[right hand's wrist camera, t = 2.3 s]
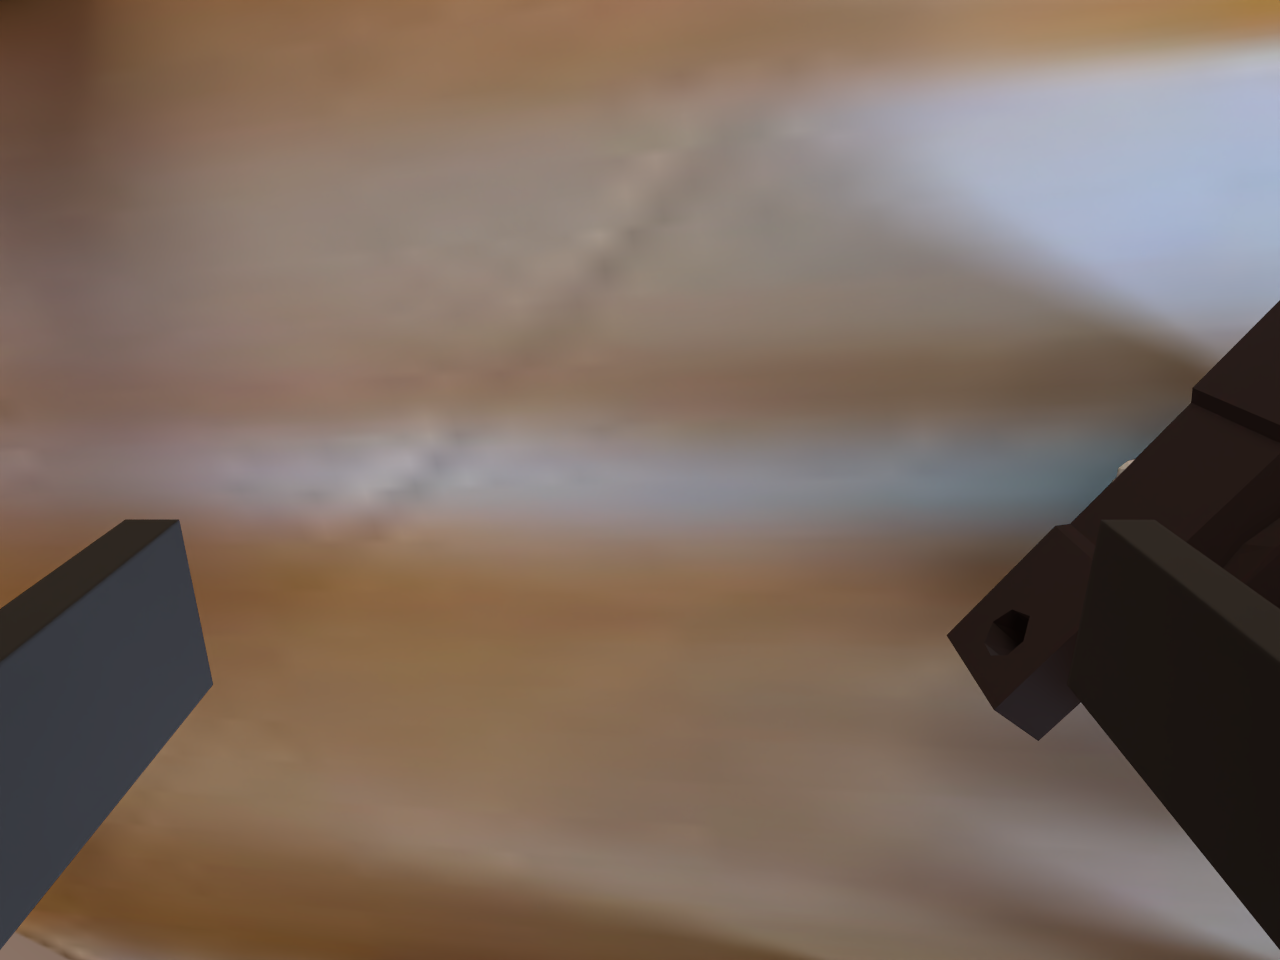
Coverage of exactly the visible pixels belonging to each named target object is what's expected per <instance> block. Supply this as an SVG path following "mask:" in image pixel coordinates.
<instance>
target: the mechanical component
mask: <svg viewBox="0 0 1280 960" xmlns="http://www.w3.org/2000/svg"><path fill="white" fill-rule="evenodd" d="M1101 520H1156V521H1157V522H1159V523H1160V524H1161V525H1163V526H1164V527H1166V528H1167V529H1168V530H1170V531H1171V532H1173V533H1174V534H1175V535H1177V536H1178V537H1180V538H1181V539H1182V540H1184V541H1185V542H1187V543H1188V544H1189V545H1191V546H1192V547H1194V548H1195V549H1196V550H1198V551H1199V552H1201V553H1202V554H1203V555H1205V556H1206V557H1208V558H1209V559H1210V560H1212V561H1213V562H1215V563H1216V564H1217V565H1219V566H1220V567H1222V568H1223V569H1224V570H1226V571H1227V572H1229V573H1230V574H1231V575H1233V576H1234V577H1236V578H1237V579H1238V580H1240V581H1241V582H1243V583H1244V584H1245V585H1247V586H1248V587H1250V588H1251V589H1252V590H1254V591H1255V592H1257V593H1258V594H1259V595H1261V596H1262V597H1264V598H1265V599H1266V600H1268V601H1269V602H1271V603H1272V604H1273V605H1275V606H1276V607H1278V608H1279V609H1280V301H1279V302H1278V303H1277V304H1276V305H1275V306H1274V307H1273V308H1272V309H1271V310H1270V311H1269V312H1268V313H1267V314H1266V315H1265V316H1264V317H1263V318H1262V319H1261V320H1260V321H1259V322H1258V323H1257V324H1256V325H1255V326H1254V327H1253V328H1252V329H1251V330H1250V331H1249V332H1248V333H1247V334H1246V335H1245V336H1244V337H1243V338H1242V339H1241V340H1240V341H1239V342H1238V343H1237V344H1236V345H1235V346H1234V347H1233V348H1232V349H1231V350H1230V351H1229V352H1228V353H1227V354H1226V355H1225V356H1224V357H1223V358H1222V359H1221V360H1220V361H1219V362H1218V363H1217V364H1216V365H1215V366H1214V367H1213V368H1212V369H1211V370H1210V371H1209V372H1208V373H1207V374H1206V375H1205V376H1204V377H1203V378H1202V379H1201V380H1200V381H1199V382H1198V383H1197V384H1196V385H1195V386H1194V387H1193V391H1192V402H1191V404H1190V405H1189V406H1188V407H1187V408H1186V409H1185V410H1184V411H1183V412H1182V413H1181V414H1180V415H1179V416H1178V417H1177V418H1176V419H1175V420H1174V421H1173V422H1172V423H1171V424H1170V425H1169V426H1168V427H1167V428H1166V429H1165V430H1164V431H1163V432H1162V433H1161V434H1160V435H1159V436H1158V437H1157V438H1156V439H1155V440H1154V441H1153V442H1152V443H1151V444H1150V445H1149V446H1148V447H1147V448H1146V449H1145V450H1144V451H1143V452H1142V453H1141V454H1140V455H1139V456H1138V457H1137V458H1136V459H1134V460H1129V461H1127V462H1126V463H1124V464H1123V465H1122V466H1121V467H1119V468H1118V472H1117V476H1116V478H1115V479H1114V480H1113V481H1112V483H1111V484H1110V485H1109V486H1108V487H1107V488H1106V489H1105V490H1104V491H1103V492H1102V493H1101V494H1100V495H1099V496H1098V497H1097V498H1096V499H1095V500H1094V501H1093V502H1092V503H1091V504H1090V505H1089V506H1088V507H1087V508H1086V509H1085V510H1084V511H1083V512H1082V513H1081V514H1080V515H1079V516H1078V517H1077V518H1076V519H1075V520H1074V521H1073V522H1072V523H1071V524H1067V525H1059V526H1055V527H1054V528H1053V529H1052V530H1051V531H1050V532H1049V533H1048V534H1047V535H1046V536H1045V537H1044V538H1043V539H1042V540H1041V541H1040V542H1039V543H1038V544H1037V545H1036V546H1035V547H1034V548H1033V549H1032V550H1031V551H1030V552H1029V553H1028V554H1027V555H1026V556H1025V557H1024V558H1023V559H1022V560H1021V561H1020V562H1019V563H1018V564H1017V565H1016V566H1015V567H1014V568H1013V569H1012V570H1011V571H1010V572H1009V573H1008V574H1007V575H1006V576H1005V577H1004V578H1003V579H1002V580H1001V581H1000V582H999V583H998V584H997V585H996V586H995V587H994V588H993V589H992V590H991V591H990V592H989V593H988V594H987V595H986V596H985V597H984V598H983V599H982V600H981V601H980V602H979V603H978V604H977V605H976V606H975V607H974V608H973V609H972V610H971V611H970V612H969V613H968V614H967V615H966V616H965V617H964V618H963V619H962V620H961V621H960V622H959V623H958V624H957V625H956V626H955V627H954V628H953V629H952V630H951V631H950V632H949V634H948V635H947V637H948V638H949V640H950V641H951V643H952V644H953V646H954V648H955V649H956V651H957V652H958V654H959V655H960V657H961V659H962V660H963V662H964V663H965V665H966V666H967V668H968V670H969V671H970V673H971V674H972V676H973V677H974V679H975V681H976V682H977V684H978V685H979V687H980V689H981V690H982V692H983V693H984V695H985V696H986V698H987V700H988V701H989V703H990V704H991V706H992V707H993V709H994V710H995V711H996V712H998V713H999V714H1001V715H1002V716H1004V717H1005V718H1006V719H1008V720H1009V721H1011V722H1012V723H1014V724H1015V725H1016V726H1018V727H1019V728H1021V729H1022V730H1024V731H1025V732H1026V733H1028V734H1029V735H1031V736H1032V737H1034V738H1035V739H1037V740H1038V741H1039V740H1040V739H1041V738H1042V737H1043V736H1044V735H1045V734H1046V733H1048V732H1049V731H1050V730H1051V729H1052V728H1053V727H1054V726H1055V725H1056V724H1057V723H1059V722H1060V721H1061V720H1062V719H1063V718H1064V717H1065V716H1066V715H1067V714H1068V713H1069V712H1071V711H1072V710H1073V709H1074V708H1075V707H1076V706H1077V705H1078V704H1079V703H1080V702H1081V701H1080V700H1079V699H1078V698H1077V696H1076V695H1075V694H1074V693H1073V691H1072V690H1071V689H1070V688H1069V686H1068V685H1067V682H1068V677H1069V672H1070V667H1071V662H1072V658H1073V653H1074V648H1075V643H1076V638H1077V633H1078V628H1079V624H1080V619H1081V614H1082V609H1083V604H1084V599H1085V594H1086V589H1087V585H1088V580H1089V575H1090V570H1091V565H1092V560H1093V555H1094V551H1095V546H1096V541H1097V536H1098V531H1099V526H1100V521H1101Z"/></svg>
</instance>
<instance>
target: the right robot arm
mask: <svg viewBox="0 0 1280 960" xmlns="http://www.w3.org/2000/svg"><path fill="white" fill-rule="evenodd" d="M212 685H213V682H212V677H211V672H210V667H209V662H208V658H207V653H206V648H205V643H204V638H203V633H202V628H201V624H200V619H199V614H198V609H197V604H196V599H195V594H194V589H193V585H192V580H191V575H190V570H189V565H188V560H187V555H186V551H185V546H184V541H183V536H182V531H181V526H180V521H179V520H124V521H123V522H121V523H120V524H119V525H117V526H116V527H114V528H113V529H112V530H110V531H109V532H107V533H106V534H105V535H103V536H102V537H100V538H99V539H98V540H96V541H95V542H93V543H92V544H91V545H89V546H88V547H86V548H85V549H84V550H82V551H81V552H79V553H78V554H77V555H75V556H74V557H72V558H71V559H70V560H68V561H67V562H65V563H64V564H63V565H61V566H60V567H58V568H57V569H56V570H54V571H53V572H51V573H50V574H49V575H47V576H46V577H44V578H43V579H42V580H40V581H39V582H37V583H36V584H35V585H33V586H32V587H30V588H29V589H28V590H26V591H25V592H23V593H22V594H21V595H19V596H18V597H16V598H15V599H14V600H12V601H11V602H9V603H8V604H7V605H5V606H4V607H2V608H1V609H0V949H1V948H2V947H3V946H4V944H5V943H6V942H7V941H8V939H9V938H10V937H11V936H12V934H13V933H14V932H15V931H16V929H17V928H18V927H19V926H20V924H21V923H22V922H23V921H24V919H25V918H26V917H27V916H28V915H29V913H30V912H31V911H32V910H33V908H34V907H35V906H36V905H37V903H38V902H39V901H40V900H41V898H42V897H43V896H44V895H45V893H46V892H47V891H48V890H49V888H50V887H51V886H52V885H53V883H54V882H55V881H56V880H57V878H58V877H59V876H60V875H61V873H62V872H63V871H64V870H65V868H66V867H67V866H68V865H69V863H70V862H71V861H72V860H73V858H74V857H75V856H76V855H77V853H78V852H79V851H80V850H81V848H82V847H83V846H84V845H85V843H86V842H87V841H88V840H89V838H90V837H91V836H92V835H93V833H94V832H95V831H96V830H97V829H98V827H99V826H100V825H101V824H102V822H103V821H104V820H105V819H106V817H107V816H108V815H109V814H110V812H111V811H112V810H113V809H114V807H115V806H116V805H117V804H118V802H119V801H120V800H121V799H122V797H123V796H124V795H125V794H126V792H127V791H128V790H129V789H130V787H131V786H132V785H133V784H134V782H135V781H136V780H137V779H138V777H139V776H140V775H141V774H142V772H143V771H144V770H145V769H146V767H147V766H148V765H149V764H150V762H151V761H152V760H153V759H154V757H155V756H156V755H157V754H158V752H159V751H160V750H161V749H162V747H163V746H164V745H165V744H166V743H167V741H168V740H169V739H170V738H171V736H172V735H173V734H174V733H175V731H176V730H177V729H178V728H179V726H180V725H181V724H182V723H183V721H184V720H185V719H186V718H187V716H188V715H189V714H190V713H191V711H192V710H193V709H194V708H195V706H196V705H197V704H198V703H199V701H200V700H201V699H202V698H203V696H204V695H205V694H206V693H207V691H208V690H209V689H210V688H211V686H212ZM1067 685H1068V686H1069V688H1070V689H1071V690H1072V691H1073V693H1074V694H1075V695H1076V696H1077V698H1078V699H1079V700H1080V701H1081V703H1082V704H1083V705H1084V706H1085V708H1086V709H1087V710H1088V711H1089V713H1090V714H1091V715H1092V716H1093V718H1094V719H1095V720H1096V721H1097V723H1098V724H1099V725H1100V726H1101V728H1102V729H1103V730H1104V731H1105V733H1106V734H1107V735H1108V736H1109V738H1110V739H1111V740H1112V741H1113V743H1114V744H1115V745H1116V746H1117V747H1118V749H1119V750H1120V751H1121V752H1122V754H1123V755H1124V756H1125V757H1126V759H1127V760H1128V761H1129V762H1130V764H1131V765H1132V766H1133V767H1134V769H1135V770H1136V771H1137V772H1138V774H1139V775H1140V776H1141V777H1142V779H1143V780H1144V781H1145V782H1146V784H1147V785H1148V786H1149V787H1150V789H1151V790H1152V791H1153V792H1154V794H1155V795H1156V796H1157V797H1158V799H1159V800H1160V801H1161V802H1162V804H1163V805H1164V806H1165V807H1166V809H1167V810H1168V811H1169V812H1170V814H1171V815H1172V816H1173V817H1174V819H1175V820H1176V821H1177V822H1178V824H1179V825H1180V826H1181V827H1182V829H1183V830H1184V831H1185V832H1186V833H1187V835H1188V836H1189V837H1190V838H1191V840H1192V841H1193V842H1194V843H1195V845H1196V846H1197V847H1198V848H1199V850H1200V851H1201V852H1202V853H1203V855H1204V856H1205V857H1206V858H1207V860H1208V861H1209V862H1210V863H1211V865H1212V866H1213V867H1214V868H1215V870H1216V871H1217V872H1218V873H1219V875H1220V876H1221V877H1222V878H1223V880H1224V881H1225V882H1226V883H1227V885H1228V886H1229V887H1230V888H1231V890H1232V891H1233V892H1234V893H1235V895H1236V896H1237V897H1238V898H1239V900H1240V901H1241V902H1242V903H1243V905H1244V906H1245V907H1246V908H1247V910H1248V911H1249V912H1250V913H1251V915H1252V916H1253V917H1254V918H1255V919H1256V921H1257V922H1258V923H1259V924H1260V926H1261V927H1262V928H1263V929H1264V931H1265V932H1266V933H1267V934H1268V936H1269V937H1270V938H1271V939H1272V941H1273V942H1274V943H1275V944H1276V946H1277V947H1278V948H1279V949H1280V609H1279V608H1278V607H1276V606H1275V605H1273V604H1272V603H1271V602H1269V601H1268V600H1266V599H1265V598H1264V597H1262V596H1261V595H1259V594H1258V593H1257V592H1255V591H1254V590H1252V589H1251V588H1250V587H1248V586H1247V585H1245V584H1244V583H1243V582H1241V581H1240V580H1238V579H1237V578H1236V577H1234V576H1233V575H1231V574H1230V573H1229V572H1227V571H1226V570H1224V569H1223V568H1222V567H1220V566H1219V565H1217V564H1216V563H1215V562H1213V561H1212V560H1210V559H1209V558H1208V557H1206V556H1205V555H1203V554H1202V553H1201V552H1199V551H1198V550H1196V549H1195V548H1194V547H1192V546H1191V545H1189V544H1188V543H1187V542H1185V541H1184V540H1182V539H1181V538H1180V537H1178V536H1177V535H1175V534H1174V533H1173V532H1171V531H1170V530H1168V529H1167V528H1166V527H1164V526H1163V525H1161V524H1160V523H1159V522H1157V521H1156V520H1101V521H1100V526H1099V531H1098V536H1097V541H1096V546H1095V551H1094V555H1093V560H1092V565H1091V570H1090V575H1089V580H1088V585H1087V589H1086V594H1085V599H1084V604H1083V609H1082V614H1081V619H1080V624H1079V628H1078V633H1077V638H1076V643H1075V648H1074V653H1073V658H1072V662H1071V667H1070V672H1069V677H1068V682H1067Z"/></svg>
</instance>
